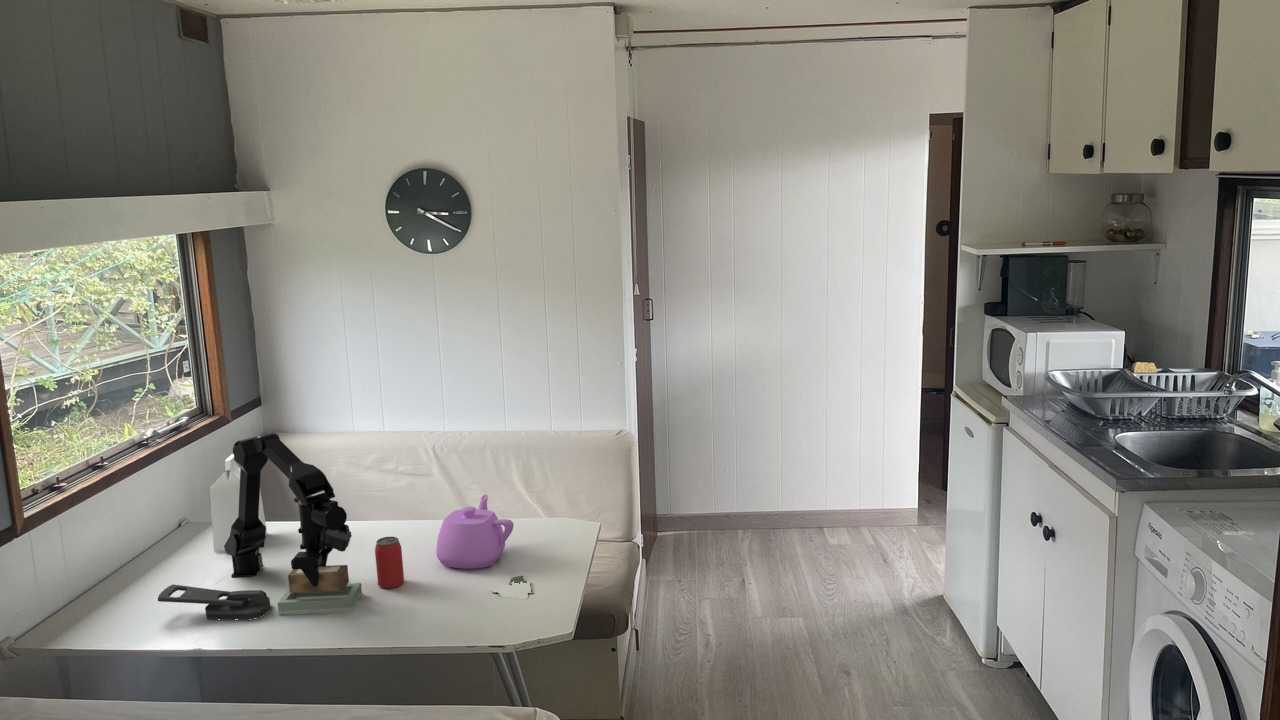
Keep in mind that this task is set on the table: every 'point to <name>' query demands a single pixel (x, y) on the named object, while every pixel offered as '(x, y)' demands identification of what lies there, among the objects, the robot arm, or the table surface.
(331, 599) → the cradle
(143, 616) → the table surface
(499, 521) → the teapot
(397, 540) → the beer can
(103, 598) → the table surface
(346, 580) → the brown two-tone block
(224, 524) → the milk
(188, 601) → the zipper pull
